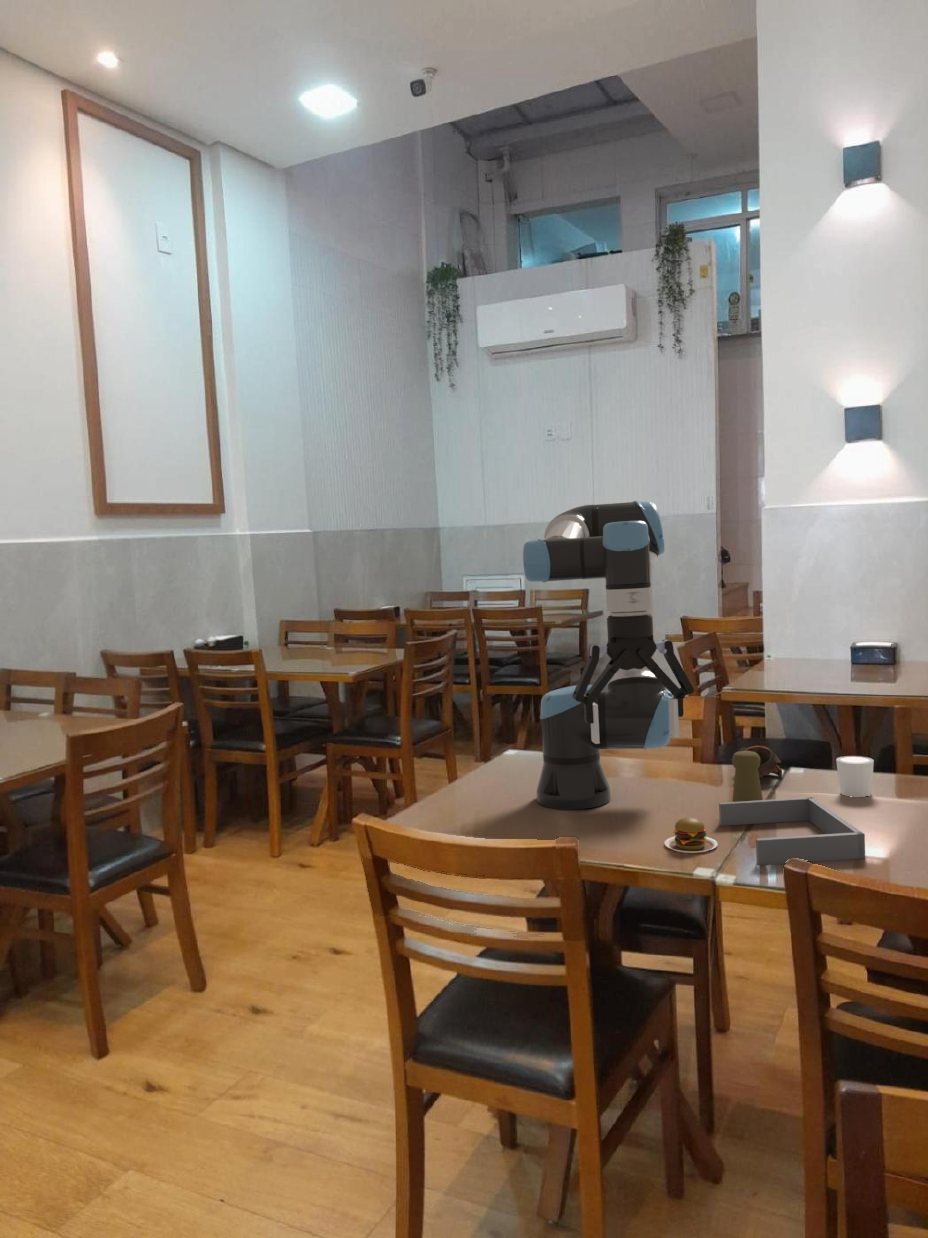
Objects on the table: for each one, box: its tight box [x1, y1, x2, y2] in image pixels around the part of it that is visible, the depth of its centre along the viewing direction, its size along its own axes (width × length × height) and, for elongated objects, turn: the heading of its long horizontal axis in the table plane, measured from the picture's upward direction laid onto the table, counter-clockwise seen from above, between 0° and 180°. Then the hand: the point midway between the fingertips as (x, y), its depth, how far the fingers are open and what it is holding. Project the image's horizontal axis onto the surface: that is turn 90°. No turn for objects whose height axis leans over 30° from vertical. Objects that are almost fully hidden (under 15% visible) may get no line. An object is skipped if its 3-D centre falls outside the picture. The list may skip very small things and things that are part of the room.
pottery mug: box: [737, 745, 783, 779], centre depth 199 cm, size 12×10×8 cm
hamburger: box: [664, 816, 719, 854], centre depth 159 cm, size 12×12×6 cm
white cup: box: [835, 755, 875, 798], centre depth 183 cm, size 7×7×7 cm
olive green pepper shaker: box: [731, 750, 764, 802], centre depth 178 cm, size 6×6×11 cm
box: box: [718, 796, 866, 866], centre depth 158 cm, size 22×17×4 cm
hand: (635, 739), depth 156 cm, fingers open, 13 cm apart
